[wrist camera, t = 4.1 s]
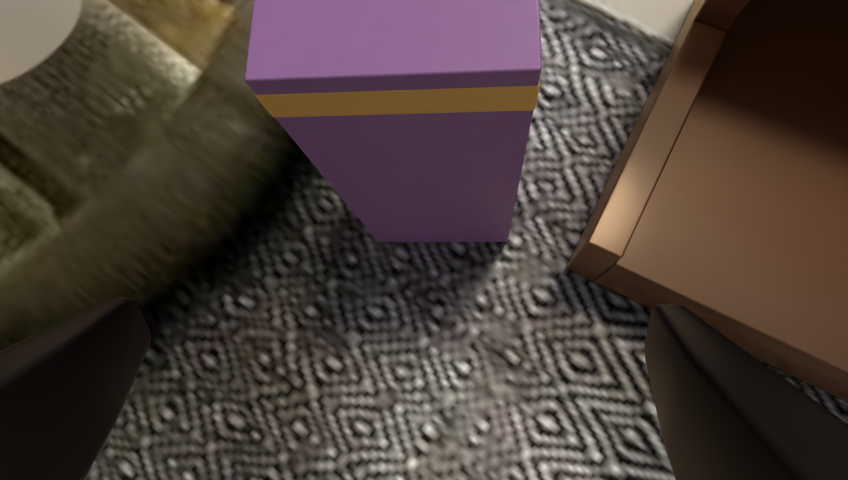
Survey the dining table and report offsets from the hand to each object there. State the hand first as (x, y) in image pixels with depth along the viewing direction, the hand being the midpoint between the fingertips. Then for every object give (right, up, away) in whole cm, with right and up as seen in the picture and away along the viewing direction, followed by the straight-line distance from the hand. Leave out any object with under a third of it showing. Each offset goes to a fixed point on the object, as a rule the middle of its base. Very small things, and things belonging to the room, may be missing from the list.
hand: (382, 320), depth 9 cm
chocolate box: (+2, +3, +14) cm, 14 cm away
